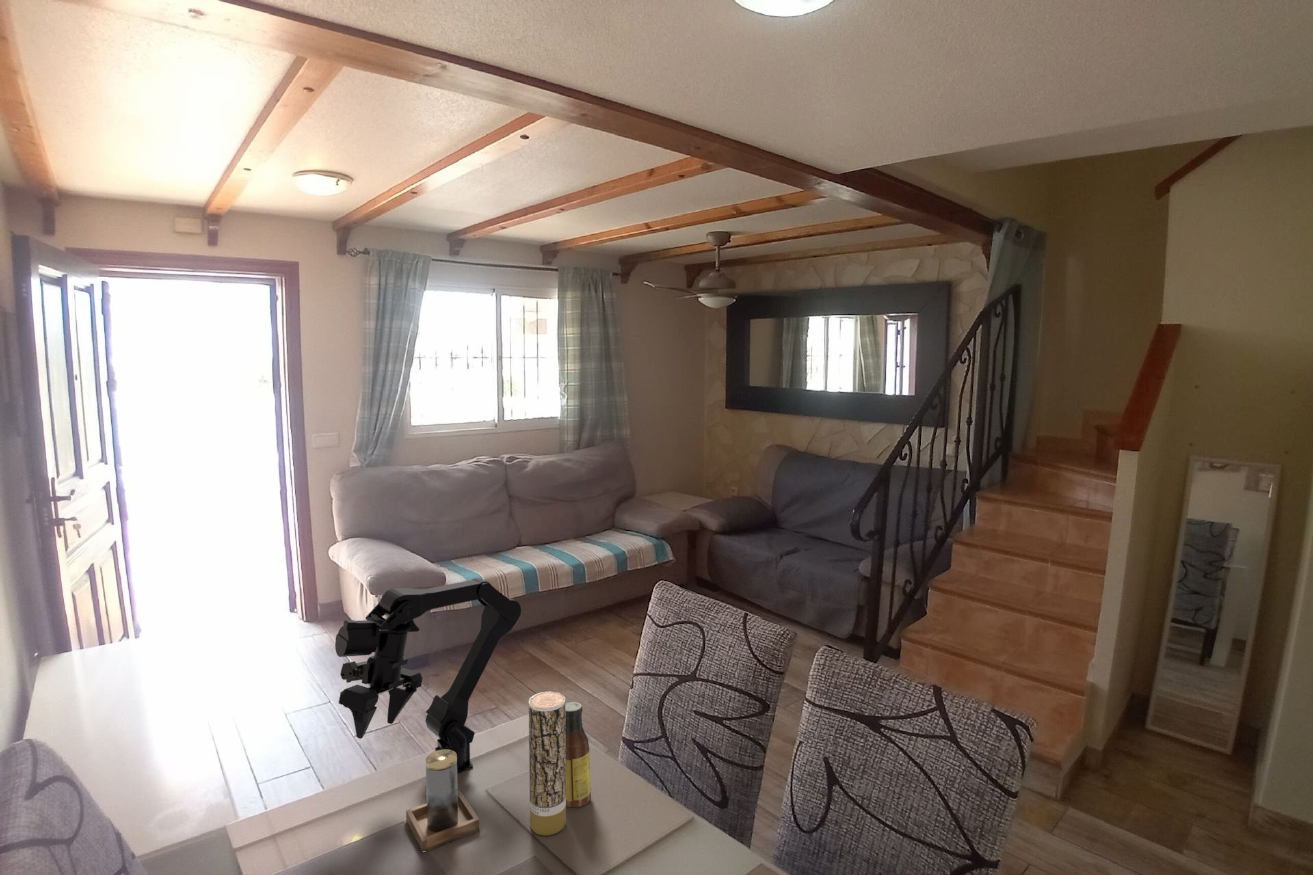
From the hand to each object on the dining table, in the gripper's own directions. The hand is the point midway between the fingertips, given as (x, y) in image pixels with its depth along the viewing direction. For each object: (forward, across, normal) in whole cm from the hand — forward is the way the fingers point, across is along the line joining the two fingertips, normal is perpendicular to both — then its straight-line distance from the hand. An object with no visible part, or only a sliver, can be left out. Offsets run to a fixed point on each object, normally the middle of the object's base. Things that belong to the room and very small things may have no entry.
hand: (375, 730), depth 135 cm
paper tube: (+10, -4, +38) cm, 40 cm away
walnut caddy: (+13, +1, +19) cm, 23 cm away
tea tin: (+12, +1, +19) cm, 23 cm away
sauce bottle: (+8, -13, +40) cm, 43 cm away
